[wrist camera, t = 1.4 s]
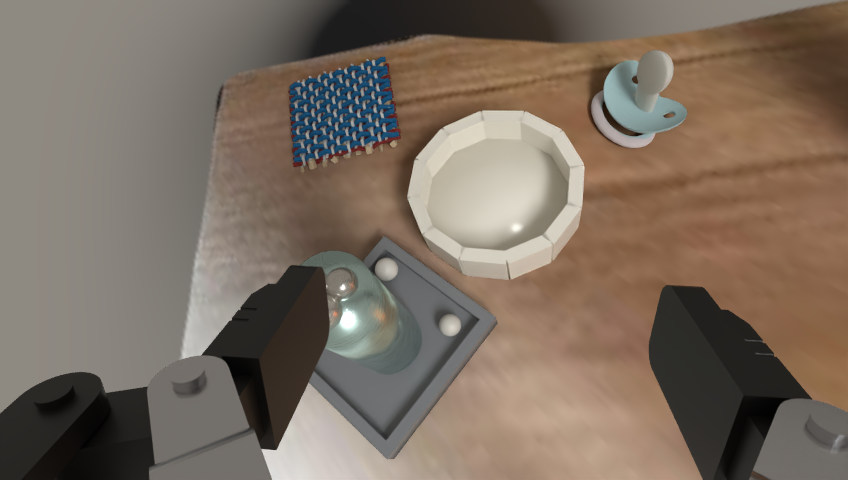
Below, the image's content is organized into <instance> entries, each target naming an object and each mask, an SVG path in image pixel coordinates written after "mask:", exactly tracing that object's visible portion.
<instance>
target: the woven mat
mask: <svg viewBox="0 0 848 480" xmlns="http://www.w3.org/2000/svg"><path fill="white" fill-rule="evenodd" d="M366 61H367V62H365V63H361V65H359V66H354V65H353V64H351V66H350V67H349V68H348V69H347V67H346V68H345V69H344V70H341V68H338V70H336V71H335V72H334V73H333V74H332V71H330V73H329V74H326V71H325V72H324V74H323V75H322V76H321V75H319V76H318V78H317V79H316V78H311V76H309V78H308V79H307V80H306V82H305V79H303V81H302V83H300V81H299V80H297V82H298V83H296V82H294V83H293V84H292V85H291V86H290V90H289V94H290V95H294V96H291V97H289V100H290V102H292V103H291V104H290V112H291V115H293V116H292V117H290V120H291V121H294V122H291V126H292V128H291V132H292V134H293V135H292V139H293V142H295V143H293V149H292V152H293V153H294V156H295V157H293V160H294V163H293V166H294V167H297V166H300V169H301V173H304V167H305V166H306V165H307V166H309V169H310V170H312V169H315V168H317V165H316V164H319V163H320V162H321V161H322V165H323V167H327V159H329V158H332V159H331V161H332V162H333V163H334V164H335V163H337V162H338V161H339V156H340V155H343V157H344V158H345V159H347V158H350V155H351V153H352V152H356V156H357V155H361V151H366V153H367V154H372V153H373V152H374V150H373V149H374V148H375V147H377V146H379V150H380V152H383V144H385V143H388V142H390V145H391V146H392V147H393V148H394V147H395V146H396V145H397V144H398V143H397V139H401V136H400V134H399V133H401V131H400V129H395V128H396V127H397V126H399V125H398V121H397V119H396V118H397V114H396V113H395V111H396V109H395V105H396V103H395V102H394V101H393V102H390V100H392V98H394V97H393V93H392V92H393V91H392V88H388V87H390V86H391V81H390V80H389V79H391V78H390V75H389V74H388V73H389V69H388V68H389V64H388V63H386V64H385V65H384V66H383V62H385V61H386V59H385V57H380V58H379V59H378V60H376V61H375V60H372V62H371V61H369V59H366ZM371 66H372V67H371ZM367 67H368V68H367ZM362 74H363V75H362ZM386 74H388V75H386ZM322 81H323V82H322ZM344 82H345V83H344ZM313 83H314V84H313ZM334 83H336V84H334ZM357 83H358V84H357ZM379 83H380V84H379ZM294 88H295V89H294ZM303 92H304V93H303ZM325 92H326V93H325ZM355 96H356V97H355ZM381 96H382V97H381ZM324 100H325V101H324ZM345 100H347V101H345ZM366 100H367V102H366ZM370 100H371V101H370ZM366 103H367V104H366ZM326 105H327V106H326ZM348 105H349V106H348ZM368 113H369V114H368ZM295 114H296V115H295ZM294 115H295V116H294ZM304 118H305V119H304ZM303 119H304V120H303ZM348 120H349V121H348ZM372 121H373V122H372ZM314 135H315V136H314ZM327 140H328V141H327ZM350 141H351V142H350ZM372 141H373V144H372ZM354 146H355V147H354ZM338 150H339V151H338ZM307 160H308V161H307Z"/></svg>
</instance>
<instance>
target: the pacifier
mask: <svg viewBox="0 0 848 480" xmlns="http://www.w3.org/2000/svg"><path fill="white" fill-rule="evenodd" d="M673 70H674V68H673V62H672V60H671V58H670V57H669V55H667V54H666V53H665V52H663V51H659V50H653V51H649V52H647V53H646V54H644V55H643V57H642V58H641V59H640V61H639V62H637V61H633V60H629V61H624V62H621V63H619V64H618V65H616V66H615V67H614V68H613V69H612V70H611V71H610V73H609V75H608V76H607V78H606V80H605V84H604V90H602V91H600V92H599V93H597V94H596V95H595V97H594V98H593V100H592V104H591V113H592V117H593V119H594V122H595V124H596V125H597V127H598V128H599V130H600V131H601V132H602V133H603V134H604V135H605V136H606V137H607V138H609V139H610V140H611V141H613V142H614V143H617V144H619V145H621V146H624V147H628V148H640V147H643V146H646V145H647V144H649V143H650V142H651V141H652V140H653V138H654V136H655V133H658V132H662V131H666V130H669V129H672V128H674V127H676V126H678V125H679V124H681V123H682V122H683V121H684V119H685V118H686V116H687V110H686V108H685V107H684V106H683V105H682V104H680V103H678V102H676V101H674V100H671V99H668V98H662V97H660V96H659V92H661V91H662V90H664V89H665V88H666V87H667V86H668V84H669V83H670V81H671V79H672V76H673ZM636 75H637V79H638V84H635V83H633V81H632V77H634V76H636ZM604 102H605V104H606V107H607V109H608V111H609V113H610V114H611V116H612V117H613V118H614V120H615V121H616V122H617V123H619V124H620V125H621V126H623V127H624V128H626V129H628V130H631V131H634V132H638V133H644V134H643V135H640V136H628V135H624V134H622V133H620V132H618V131H617V130H616V129H614V128H613V127H612V126H611V125H610V124H609V123H608V122H607V120H606V118H605V117H604V114H603V111H602V105H603V103H604ZM667 113H672V114H674V115H675V116H674V117H672V118H665V117H663V115H665V114H667Z"/></svg>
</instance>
